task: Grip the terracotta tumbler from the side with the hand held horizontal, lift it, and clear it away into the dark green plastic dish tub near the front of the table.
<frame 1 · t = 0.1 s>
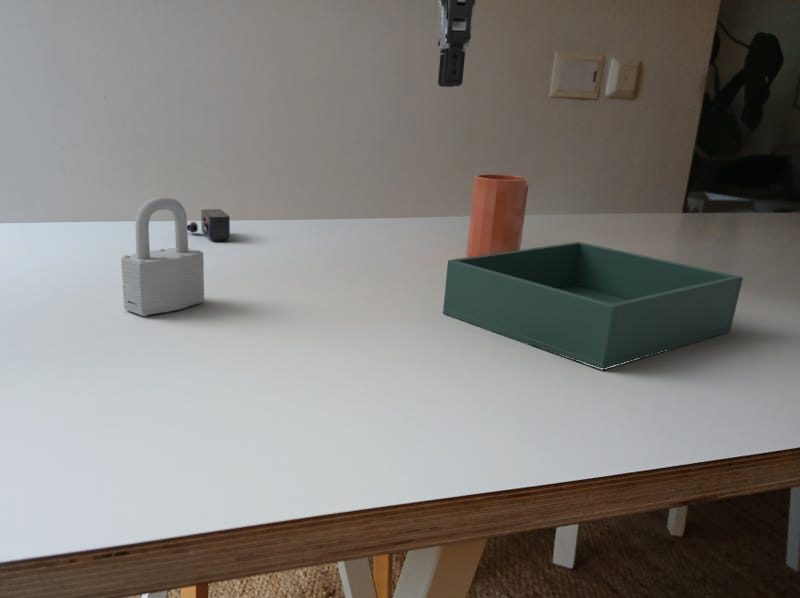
hand: (449, 86, 89), 20 cm above the table, tool pointing down, fingers open, 8 cm apart
tumbler: (492, 258, 93), on the table
padlock: (165, 308, 68), on the table
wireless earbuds: (209, 237, 100), on the table
dish tub: (583, 322, 68), on the table
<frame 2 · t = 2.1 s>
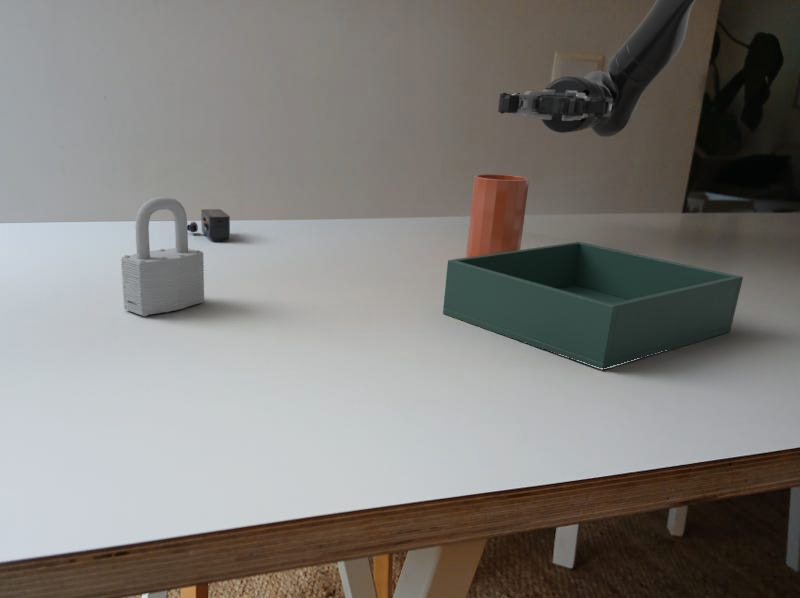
hand: (538, 105, 95), 18 cm above the table, tool horizontal, fingers open, 8 cm apart
nothing on the table moved.
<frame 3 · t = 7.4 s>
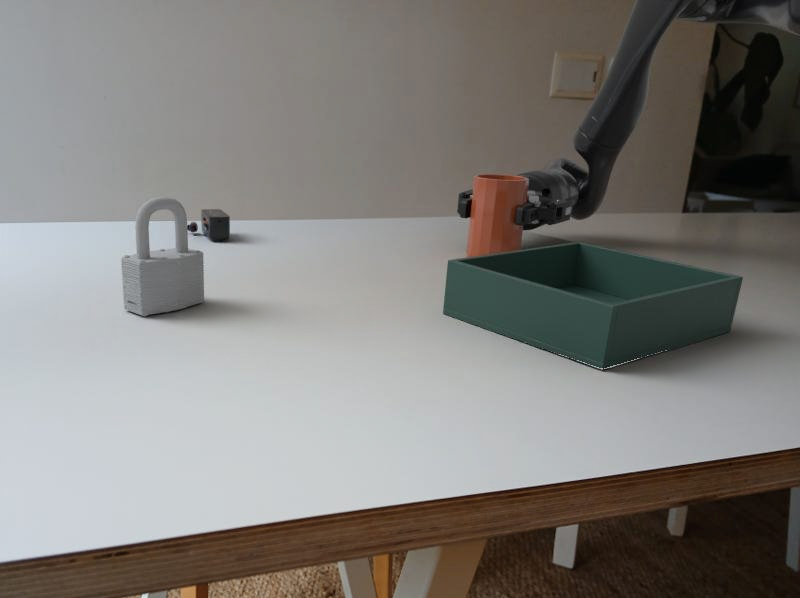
hand: (490, 212, 89), 6 cm above the table, tool horizontal, fingers closed on tumbler, 6 cm apart
tumbler: (492, 258, 93), on the table, touching gripper
everything else where it was.
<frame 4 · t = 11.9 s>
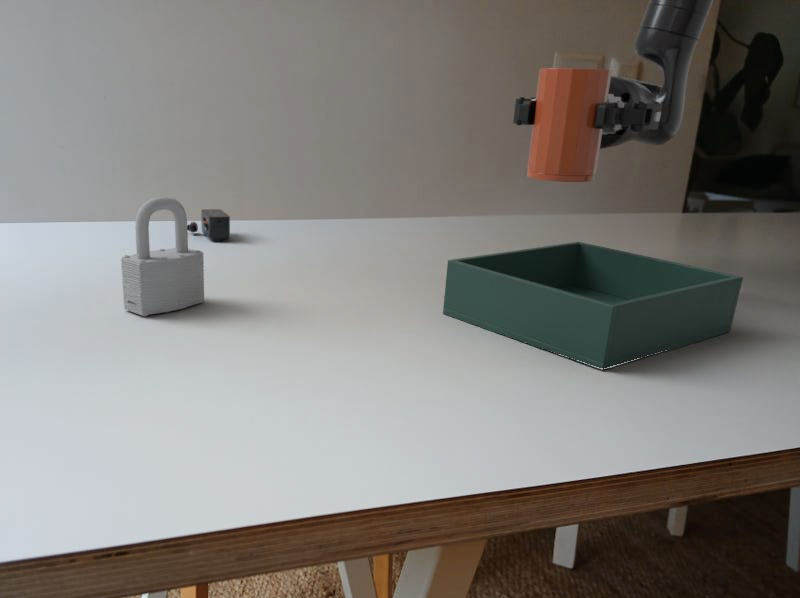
hand: (562, 114, 69), 18 cm above the table, tool horizontal, fingers closed on tumbler, 6 cm apart
tumbler: (560, 178, 73), point 12 cm above the table, touching gripper
everything else where it was.
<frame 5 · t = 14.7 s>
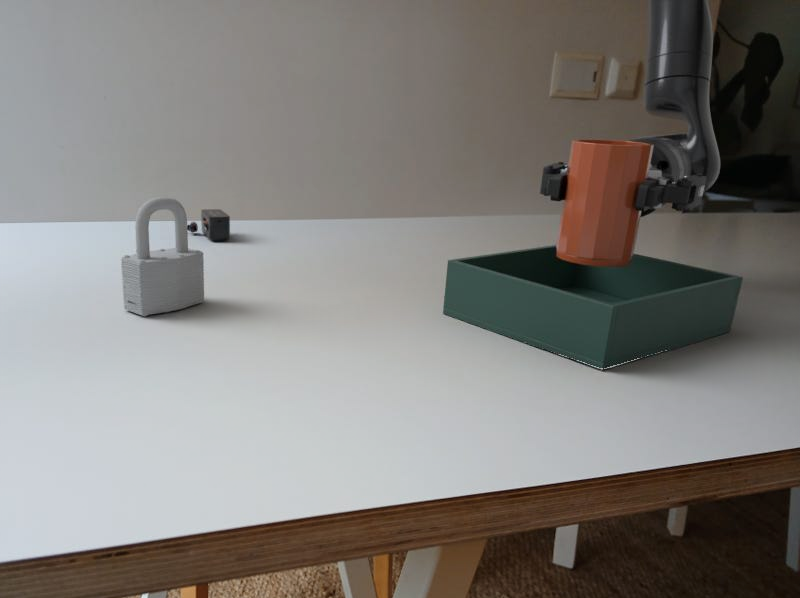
hand: (597, 193, 62), 12 cm above the table, tool horizontal, fingers closed on tumbler, 6 cm apart
tumbler: (592, 258, 66), point 6 cm above the table, touching gripper
everything else where it was.
when the fingers open (7 cm above the table, at t = 16.9 s): tumbler stays where it is, resting on dish tub.
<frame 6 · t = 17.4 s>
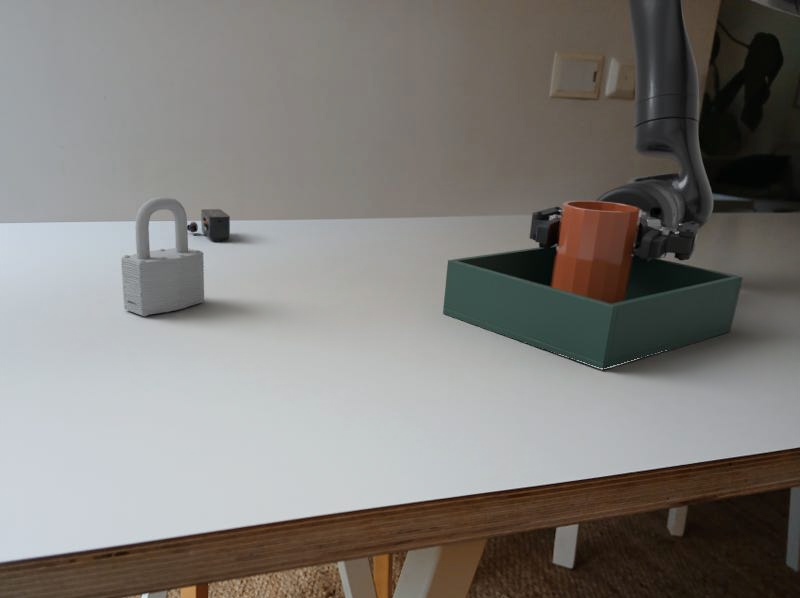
hand: (592, 242, 64), 8 cm above the table, tool horizontal, fingers open, 8 cm apart
tumbler: (583, 316, 68), point 1 cm above the table, touching dish tub
everything else where it was.
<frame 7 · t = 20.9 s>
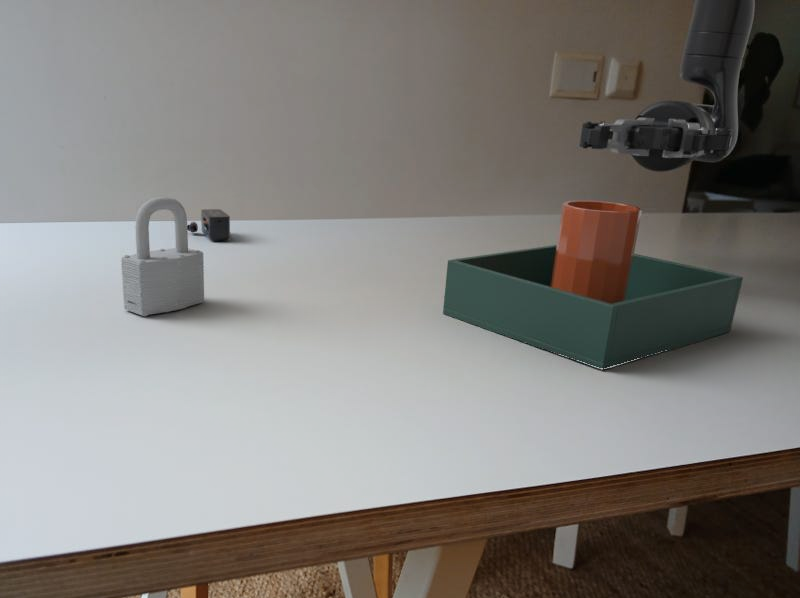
hand: (641, 140, 72), 16 cm above the table, tool horizontal, fingers open, 8 cm apart
nothing on the table moved.
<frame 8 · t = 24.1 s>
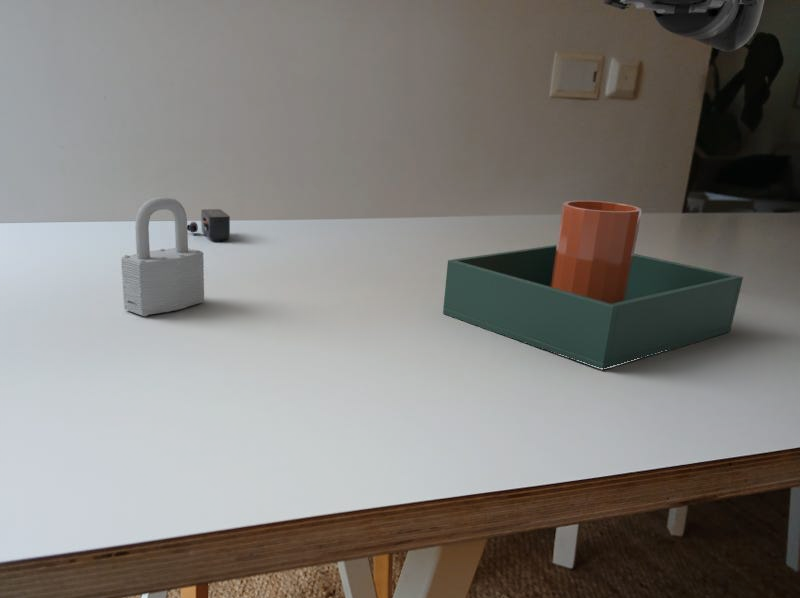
nothing on the table moved.
at the end: tumbler inside the target area in the dish tub (0.1 cm from its centre), point 0.6 cm above the dish tub's base; tumbler tilted 0°; the gripper is holding nothing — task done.
